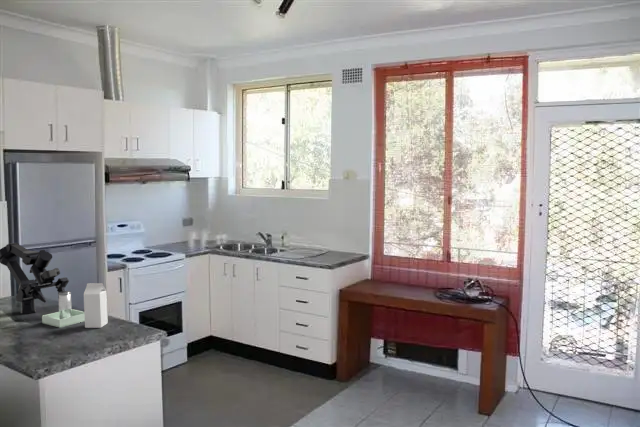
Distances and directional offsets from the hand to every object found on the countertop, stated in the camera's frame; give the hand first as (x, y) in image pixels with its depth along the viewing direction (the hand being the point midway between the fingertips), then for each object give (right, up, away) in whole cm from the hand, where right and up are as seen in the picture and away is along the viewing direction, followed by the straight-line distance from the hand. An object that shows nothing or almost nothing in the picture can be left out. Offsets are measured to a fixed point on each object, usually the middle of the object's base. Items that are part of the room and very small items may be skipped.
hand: (55, 300), depth 249 cm
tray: (+7, -9, -4) cm, 12 cm away
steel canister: (+7, -9, -4) cm, 12 cm away
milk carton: (+24, -10, -11) cm, 28 cm away
